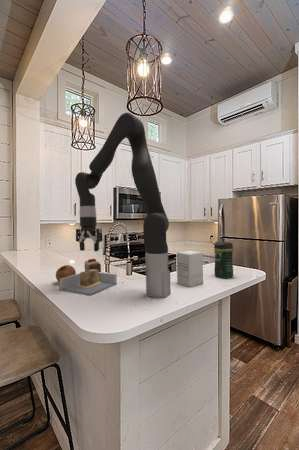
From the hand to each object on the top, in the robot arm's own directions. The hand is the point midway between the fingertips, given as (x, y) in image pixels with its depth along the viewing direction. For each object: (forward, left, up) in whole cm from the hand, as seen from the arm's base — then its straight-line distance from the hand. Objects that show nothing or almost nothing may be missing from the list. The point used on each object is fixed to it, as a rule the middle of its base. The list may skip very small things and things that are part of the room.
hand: (89, 250), depth 109 cm
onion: (+15, +1, -17) cm, 23 cm away
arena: (-1, +2, -17) cm, 17 cm away
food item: (+12, -16, -17) cm, 26 cm away
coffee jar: (-53, -43, -17) cm, 70 cm away
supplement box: (-41, -23, -17) cm, 50 cm away
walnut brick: (0, 0, -16) cm, 16 cm away
